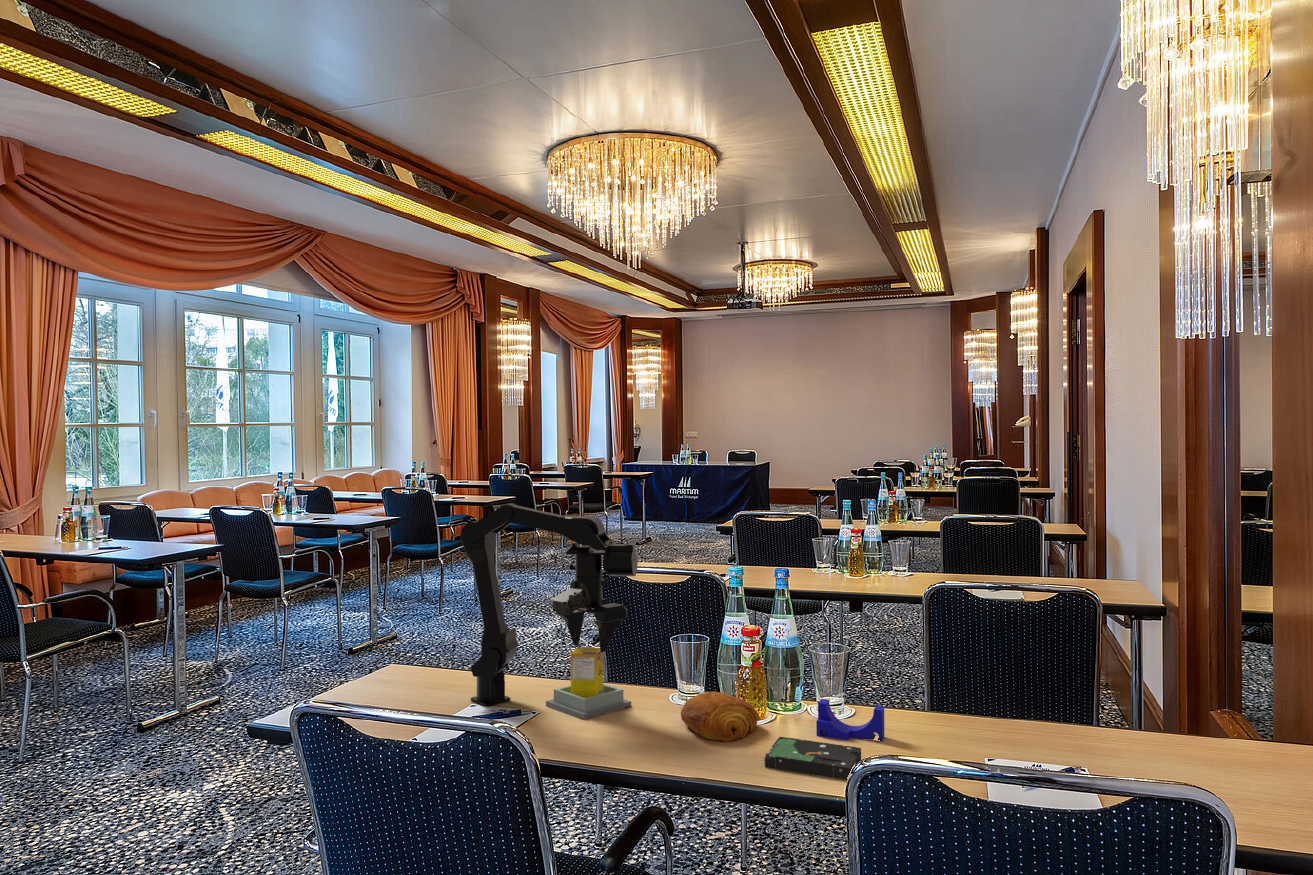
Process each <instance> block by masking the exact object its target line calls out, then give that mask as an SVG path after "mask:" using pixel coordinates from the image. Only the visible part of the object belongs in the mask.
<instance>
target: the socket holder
mask: <svg viewBox="0 0 1313 875" xmlns="http://www.w3.org/2000/svg"><path fill="white" fill-rule="evenodd" d="M545 706H546V707H548V708H551V709H554V710H557V711H559V712H562V713H564V714H567V715H570V716H573V717H576V718H578V719H581V720H588V719H590V718H594V717H598V716H602V715H605V714H608V713H611V712H612V713H613V712H615V711H619V710H623V709H626V708H625V707H627V708H629V707H628V706H630V707H632V701H631V700H628V699H625V698H624V689H622V688H620V687H616V686H612V685H610V684H607V683H606V684H605V683H603V694H599V695H596V696H592V697H588V698H583V697H580V696H577V695H574V694H571V684H570V685H567V686H562V687H559V688H554V689H553V699H549V700H546V701H545ZM622 708H623V709H622Z"/></svg>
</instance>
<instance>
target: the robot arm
mask: <svg viewBox="0 0 1313 875" xmlns="http://www.w3.org/2000/svg"><path fill="white" fill-rule="evenodd" d="M510 524H515V525H520V526H524V527H529V528H533V529H539V530H542V531H545V532H546V531H547V532H550V533H555V534H558V535H560V536H562V537H564V538H566V539H567V540H570V541H571V542H574V543H573V544H572V545H571V546H570V547H569V549H567V551H565V554H566V556H567V555H568V556H569V555H570V556H575V580H574V579H573V580H571V582H570V584H569V585H570V588H569V589H567V590H564V591H562V592H561V593H560V594H557V595H556V596H554V597H553V598H552V599H551V602H552V611H553V612H555V614H556V615H557V616H559V617H560V618H561V619H562V620H564V622H565V625H566V626H567V629H568V632H569V636H570V638H571V641H572V645H573V646H579V643H580V640H581V637H582V636H581V635H582V629H583V625H584V619H585V613H590V614H593V615H594V616H593V617H594V618H595V620H594V621H593V623H594V624H595V625H596V627H597V628H598V641H599V648H600V651H601V652H603V653H606V651H607V649H608V647H609V644H610V643H611V641H612V638H613V636H614V634H615V632H616V630H617V628H618V626H619V624H620V623H622V622H624V619H627V618H628V608H627V607H626V606H625V605H624V604H619V603H613V602H612V603H607V599H606V598H603V586H606V585H607V579H603V572H604V573H607V575H608V576H609V577H636V575H637V574H638V573H637V572H638V562H639V561H638V560H639V559H638V557H637V551H636V546H635V545H636V544H635V543H627V544H614V543H613V540H611V539H610V537H609V536H608V534H607V533H606V532H605V527H604V523H603V522H602V520H601V519H600V518H598V517H597V516H587V515H562V514H557V513H552V512H547V511H544V510H539V509H534V508H530V507H527V506H525V507H524V506H521V505H518V504H515V503H512V502H511V503H505V504H501V505H500V506H499V507H498V508H496V509H495V510H494V511H492V512H490V513H489V514H487V515H485V516H483V517H482V518H480V519H479V520H476V521H470V522H468V523H466V524H465V525H463V526H462V528H461V530H460V533H459V535H460V540H461V543H462V547H463V549H464V553H465V554H466V555H467V557H468V558H469V560H470V562H471V563H472V567H473V573H474V579H475V583H476V591H477V596H478V602H479V607H480V613H481V619H482V623H483V630H482V637H481V641H480V642H481V643H480V654H481V655H480V657H479V658H478V659H477V660H476V661H475V662H474V663H473V664H472V665H471V666H470V671H471V673H472V676H473V677H476V696H472V697H470V701H471V702H475V703H477V704H478V705H482V706H485V707H488V706H491V705H496V704H499V703H504V702H509V701H511V697H510V696H508V695H507V696H506V681H505V680H506V678H505V674H506V673H505V671H504V670H505V669H508V666H509V664H510V662H511V661H512V660H513V659H514V658H515V657H516V655H517V652H518V650H517V649H518V647H519V646H520V644H519V642H518V639H517V630H516V628H511V629H510V628H509V627H508V625H507V624H506V620H505V617H504V610H503V605H502V598H501V594H500V588H499V583H498V576H497V571H496V565H495V554H496V549H497V548H496V547H497V534H499V533H500V532H502V531H503V530H505V529H506V528H507V527H509V525H510ZM580 545H582V546H580Z"/></svg>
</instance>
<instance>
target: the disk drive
mask: <svg viewBox="0 0 1313 875" xmlns="http://www.w3.org/2000/svg"><path fill="white" fill-rule="evenodd" d="M763 759H764V768H765V769H766V768H767V769H773V770H778V771H787V772H791V773H800V774H806V775H811V776H816V777H817V776H819V777H824V778H831V779H832V778H833V779H837V780H843V781H848V780H847V777H848V775H849V773H850V771H851V769H852V767H853V766H854V765H856V764H857V763H858V762H859V761H862V748H861V747H856V746H851V745H843V744H835V743H829V742H820V741H813V740H806V739H799V738H795V737H794V738H793V737H785V736H779V737H778V738H777V739H776V741H775V742H774V743H773V744H772V745H771V747H770V749H769V750H768V751H767V752H766V753H765V756H764V758H763Z"/></svg>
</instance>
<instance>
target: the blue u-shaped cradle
mask: <svg viewBox="0 0 1313 875" xmlns="http://www.w3.org/2000/svg"><path fill="white" fill-rule="evenodd" d="M815 726H816V737H821V738H831V739H836V740H845V741H849V739H856V738H857V740H864V739H869V740H868V741H871V740H873V739H874V738H875V736H876V735H877V736H879V738H878V740H880V741H882V740H883V741H884V739H885V737H884V736H885V706H884V705H878V704H877V705H875V707H874V709H873V714H872V718H871V719H870V720H869V721H867V722H866V723H865V724H862V725H849V724H846V723H844V722H843V721H841V720H840V719H839V718H837V716H836V715H835V714H834V712H833V710H832V708H831V706H830V699H826V698H820V700H819V701H818V702H817V720H816V725H815ZM875 733H876V734H875ZM883 738H884V739H883ZM870 739H871V740H870ZM883 741H882V742H883Z"/></svg>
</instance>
